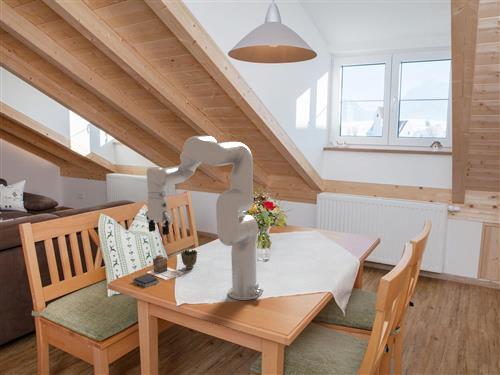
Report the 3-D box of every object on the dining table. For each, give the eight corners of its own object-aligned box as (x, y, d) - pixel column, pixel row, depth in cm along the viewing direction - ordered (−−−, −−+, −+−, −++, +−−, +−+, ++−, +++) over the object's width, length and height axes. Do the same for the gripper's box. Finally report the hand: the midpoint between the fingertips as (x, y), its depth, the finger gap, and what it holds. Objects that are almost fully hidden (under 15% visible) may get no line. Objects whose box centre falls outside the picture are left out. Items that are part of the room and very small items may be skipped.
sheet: (184, 273, 189) (184, 272, 189) (166, 280, 182) (166, 279, 182) (164, 266, 198) (164, 266, 198) (146, 272, 191) (146, 272, 191)
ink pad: (159, 282, 179) (158, 278, 179) (145, 287, 174) (145, 283, 174) (146, 277, 185) (146, 273, 185) (132, 282, 180) (132, 278, 180)
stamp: (167, 270, 192) (166, 255, 191) (159, 273, 189) (158, 258, 188) (161, 268, 195) (160, 254, 194) (153, 271, 192) (152, 256, 191)
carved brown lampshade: (199, 265, 199) (198, 249, 198) (195, 271, 192) (195, 254, 190) (183, 265, 200) (183, 249, 198) (179, 271, 192) (179, 254, 191)
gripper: (176, 195, 183) (177, 234, 186) (151, 192, 195) (153, 228, 197) (162, 198, 178) (164, 237, 181) (137, 194, 189) (140, 231, 192)
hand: (158, 232), depth 189 cm, fingers open, 9 cm apart
